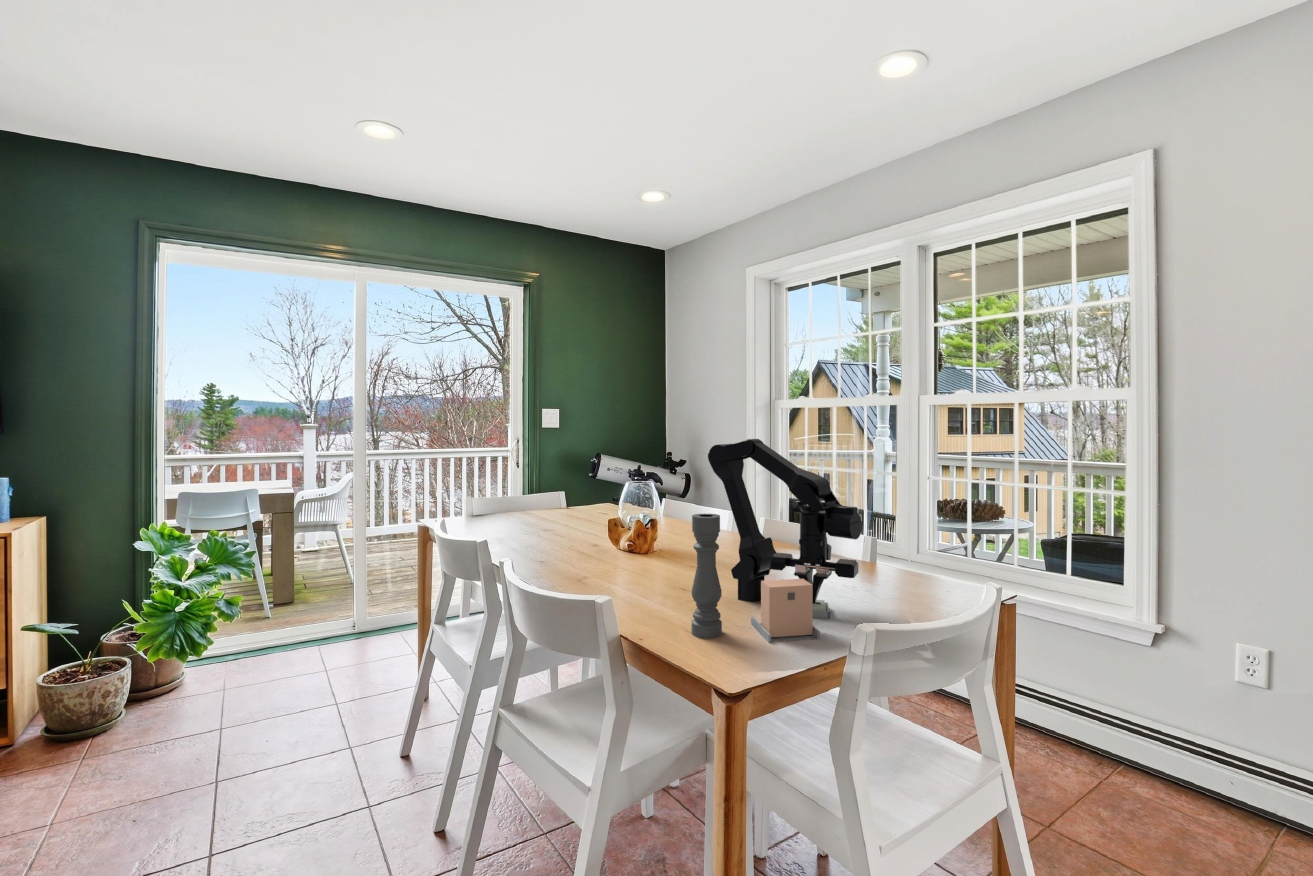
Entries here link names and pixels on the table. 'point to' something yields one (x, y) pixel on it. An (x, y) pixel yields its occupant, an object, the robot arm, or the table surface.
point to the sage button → (819, 605)
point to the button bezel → (823, 613)
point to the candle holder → (706, 577)
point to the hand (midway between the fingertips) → (813, 603)
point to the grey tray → (786, 638)
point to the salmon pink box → (787, 607)
